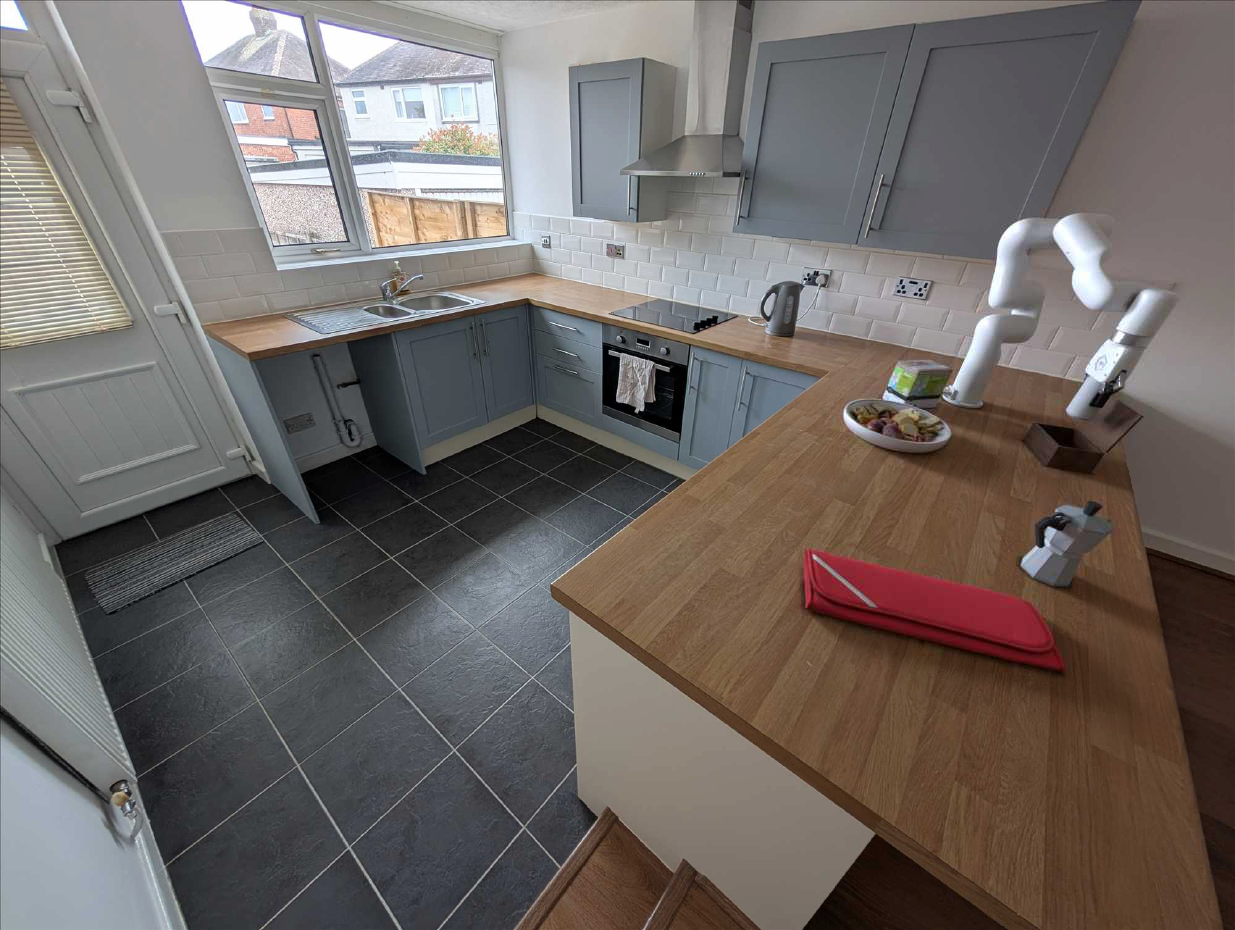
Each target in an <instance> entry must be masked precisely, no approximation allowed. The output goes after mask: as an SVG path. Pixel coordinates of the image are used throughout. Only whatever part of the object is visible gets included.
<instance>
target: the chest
mask: <svg viewBox="0 0 1235 930" xmlns="http://www.w3.org/2000/svg"><path fill="white" fill-rule="evenodd" d="M1022 441H1023V442H1024V443H1025V444H1026V445H1027V447H1028V448H1029V449H1030V450H1031V451H1032V452H1033V453H1034V455H1035V456H1036V457H1037V458H1038V459H1039V460H1040V461H1041V462H1042V463H1043V464H1044V465H1045V467H1049V468H1055V469H1060V470H1061V469H1062V470H1067V471H1073V472H1074V471H1075V472H1078V473H1079V472H1080V473H1085V474H1090V475H1091V474H1092V473H1093V472H1094V470H1095V469H1096V467H1098V465H1099V463H1100V462H1101V461H1102V459H1103V458H1104V456H1105V455H1106V453H1105V452H1104V451H1103V450H1102V449H1101V448H1099V447H1098V446H1097V445H1096V444H1095V443H1094V442H1092V441H1091V440H1090V439H1089V438H1088V437H1087V436H1086V435H1084V434H1083V433H1082V432H1081V431H1080V430H1079V429H1077V428H1076V427H1070V426H1063V425H1058V424H1057V425H1056V424H1052V423H1051V424H1050V423H1044V422H1037V421H1032V424H1031V425H1030V427H1029V429H1028V431H1027V433H1026V434H1025V436H1024V437H1023V439H1022Z"/></svg>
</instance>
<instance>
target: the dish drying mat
mask: <svg viewBox="0 0 1235 930" xmlns="http://www.w3.org/2000/svg"><path fill="white" fill-rule="evenodd" d="M803 573H804V574H803V575H804V592H805V593H804V594H805V609H806V610H809V611H811V612H815V613H817V614H821V615H825V616H830V617H832V618H837V619H841V620H843V621H844V620H845V621H848V622H851V623H855V624H860V625H863V626H867V627H872V628H875V629H879V630H883V631H887V632H890V633H895V634H899V635H903V636H908V637H912V638H916V639H920V640H923V641H927V642H931V643H936V644H939V645H944V646H947V647H952V648H956V649H958V650H963V651H967V652H972V653H977V654H981V655H986V656H990V657H994V658H997V659H1001V660H1005V661H1009V662H1015V663H1018V664H1019V663H1020V664H1024V665H1029V666H1033V667H1037V668H1041V669H1047V670H1051V671H1057V672H1065V671H1066V669H1067V667H1066V664H1065V661H1064V659H1063V658H1062V656H1061V654H1060V653H1059V650H1058V649H1057V648H1056V641H1055V639H1054V636H1053V633H1052V632H1051V629H1050V627H1049V626H1048V624H1047V622H1046V621H1045V619H1044V618H1043V617H1042V615H1041V614H1040V612H1039V611H1038V610H1037V608H1036V607H1035V606H1034V605H1033V604H1032V603H1031V602H1030V601H1029V600H1026V599H1023V598H1021V597H1015V596H1013V595H1010V594H1006V593H1003V592H999V591H995V590H991V589H987V588H983V587H982V588H981V587H977V586H972V585H968V584H965V583H964V584H963V583H959V582H954V581H950V580H946V579H940V578H937V577H932V576H928V575H923V574H918V573H914V572H910V571H906V570H902V569H899V568H898V569H897V568H892V567H888V566H884V565H878V564H875V563H870V562H867V561H862V560H857V559H853V558H850V557H846V556H842V555H837V554H833V553H828V552H824V551H821V550H817V549H811V548H806V547H805V549H804V556H803Z"/></svg>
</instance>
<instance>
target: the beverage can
mask: <svg viewBox="0 0 1235 930" xmlns="http://www.w3.org/2000/svg"><path fill="white" fill-rule="evenodd" d="M1082 383H1083V382H1082ZM1109 383H1114V381H1110V382H1109ZM1081 385H1082V384H1081ZM1081 385H1080V386H1081ZM1101 386H1102V383H1100V382H1098V381H1097V380H1095V379H1094V378H1093V377H1092V376H1090V377H1088V378H1087V379H1086V380H1085V382H1084V383H1083V385H1082V386H1081V388H1080V387H1079V388H1080V389H1079V388H1078V389H1079V391H1078V390H1077V391H1078V392H1077V391H1076V392H1077V394H1076V393H1075V395H1074V397H1073V398H1072V400H1071V401H1070V403H1069V405H1068V406H1067V407H1066V409H1065V411H1066V413H1067V415H1068V416H1069V417H1071V418H1073V419H1077V420H1080V421H1081V420H1090V419H1093V418H1094V417H1095V416H1096V414H1097V413H1098V412H1099V410H1100V409H1101V408H1097V407H1090V406H1089V403H1090V402H1091V400H1092V399H1093V397H1094V396H1095V394H1096V393H1097V392H1098V393H1099V391H1100V388H1101ZM1109 387H1111V386H1110V385H1107V387H1106V389H1107V388H1109Z"/></svg>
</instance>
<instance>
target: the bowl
mask: <svg viewBox="0 0 1235 930" xmlns="http://www.w3.org/2000/svg"><path fill="white" fill-rule="evenodd" d="M843 420H844V424H845V425H846V427H847V428H848V429H849V430H850V431H851V432H852V433H853V434H854V435H856V436H857V437H858V438H860V439H862V440H864V441H866V442H867V443H870V444H872V445H875V446H878V447H880V448H884V449H887V450H890V451H896V452H901V453H909V454H922V453H924V454H925V453H930V452H934V451H936V450H939V449H941V448H943V447H944V446H945V445H946V444H947V443H948V442H949V440H950V438H951V436H952V431H951V428H950V426H949V425H948V424H947V423H946V422H945V421H944V420H942V419H941V418H939V417H938V416H936V415H934V414H932V413H931V412H928V411H927V410H924V409H923V408H917V407H914V406H911V405H907V404H904V403H900V402H895V401H890V400H884V399H883V398H881V399H880V398H860V399H855V400H852V401H850V402H848V403H847V404H846V405H845V407H844V409H843Z"/></svg>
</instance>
